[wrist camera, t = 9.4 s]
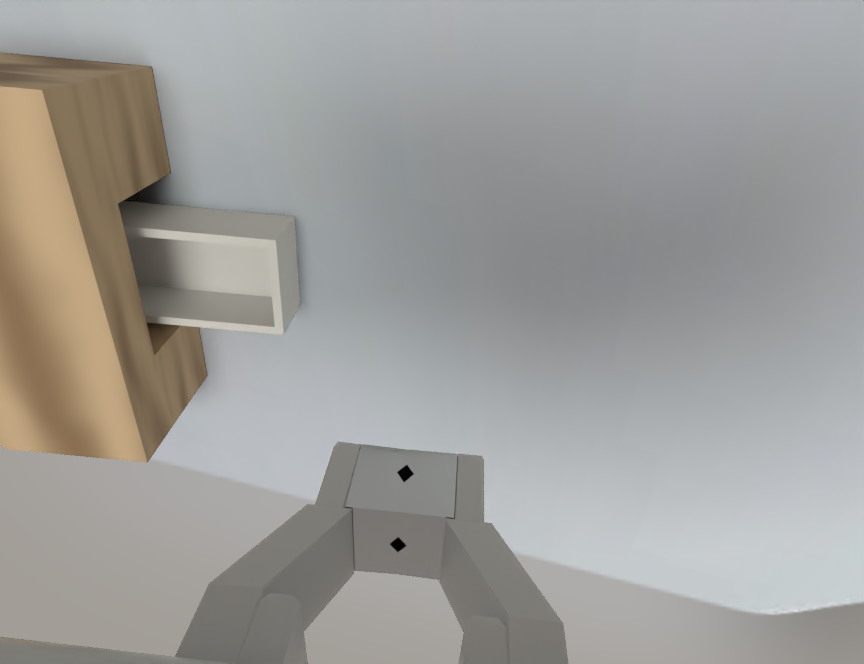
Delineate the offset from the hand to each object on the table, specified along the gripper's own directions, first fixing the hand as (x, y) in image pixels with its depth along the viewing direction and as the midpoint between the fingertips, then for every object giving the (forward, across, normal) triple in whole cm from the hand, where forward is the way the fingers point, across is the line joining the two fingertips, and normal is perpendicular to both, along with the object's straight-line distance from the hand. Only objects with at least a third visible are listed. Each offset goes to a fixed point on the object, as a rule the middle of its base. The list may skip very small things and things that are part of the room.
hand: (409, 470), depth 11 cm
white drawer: (+22, +16, +6) cm, 28 cm away
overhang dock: (+22, +21, +6) cm, 30 cm away
